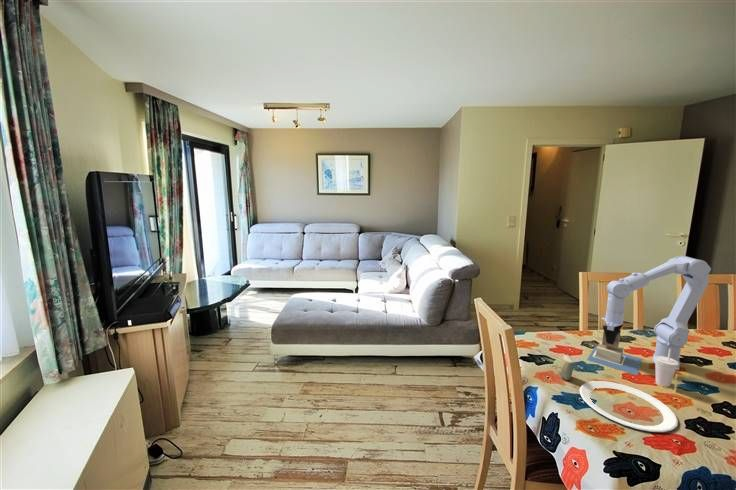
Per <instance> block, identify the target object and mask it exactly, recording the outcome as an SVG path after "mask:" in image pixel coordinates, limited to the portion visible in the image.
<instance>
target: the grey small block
mask: <svg viewBox="0 0 736 490" xmlns="http://www.w3.org/2000/svg"><path fill="white" fill-rule="evenodd" d="M574 367H575V362H574V361H573V359H572V357H571V356H570V355H568V354H564V355H562V358H561V359H560V361H559V364H558V367H557V373H558V378H560V379H561V380H563V381H565V382H570V380H571V378H572V375H573V372H574Z"/></svg>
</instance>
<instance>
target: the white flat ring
mask: <svg viewBox="0 0 736 490" xmlns="http://www.w3.org/2000/svg"><path fill="white" fill-rule="evenodd" d="M595 388H597V389H611V390H612V389H613V390H618V391H623V392H627V393H629V394H632V395H634V396H637V397H639V398H641V399H643V400H644V401H646V402H648V403H650V404H651V405H652V406H653V407H655V408H657V410H658V409H659V410H660V411H659V412H660V413H661V415H662V417H663V419H662V420H663V421H662V422H661V423H660V424H655V425H643V424H642V425H641V424H636V423H632V422H629V421H626V420H623V419H620V418H618V417H616V416H614V415H611V414H610V413H608V412H606V411H604V410H603V409H602V408H601V407H599V406H598V405H597V404H596V403H595V402H594V401H593V399H592V398H591V399H592V400H591V399H590V396H591V393H592V392H593V391H594V389H595ZM595 390H596V389H595ZM590 392H591V393H590ZM589 393H590V394H589ZM579 395H580V396H581V399H582V401H584V403H585V404H587V406H588V407H590V408H591V409H592V410H593V411H595V412H596V413H598V414H599V415H601V416H603V417H605V418H606V419H608V420H610V421H612V422H615V423H617V424H620V425H622V426H625V427H628V428H632V429H634V430H638V431H643V432H649V433H667V432H671V431H674V430H675V429H676V428H678V424H679V419H678V417H677V416H676V414H675V413H674V411H672V410H671V409H670V407H668V405H666V404H664V403H663V402H662V401H661V400H659V399H658V398H656V397H654V396H652V395H650V394H648V393H646V392H644V391H642V390H640V389H636V388H635V387H631V386H629V385H625V384H621V383H618V382H612V381H605V380H593V381H587V382H585V383H582V384H581V386H580V387H579ZM589 395H590V396H589ZM592 401H593V402H594V403H595V404H594V403H593V402H592Z"/></svg>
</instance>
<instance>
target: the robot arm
mask: <svg viewBox="0 0 736 490" xmlns="http://www.w3.org/2000/svg"><path fill="white" fill-rule="evenodd" d="M711 270H712V268H711V267H710V265H709V264H708V263H707V261H705V260H703V259H697V258H693V257H690V256H687V255H677V256H676V257H672V258H670V259H668V261H665V263H662V264H661V265H658V266H656V267H654V268H652V269H650V270H647V271H645V272H632V273H631V274H630V275H628V276H626V277H623V278H622V277H620V278H618V279H619V280H611V281H610V282H609V283H608V284H607V285H606V286H605V289H606V291H607V293H608V295H607V301H606V310H605V311H606V312H605V317H601V321H604V322H605V323H606V325H603V326H602V329H603V332H604V331H605V335H606V342H607V343H608V344H612V345H613V344H614V341H615V338H616V336H617V334H618V333H619V332H620V331H621V329H622V328H623V326H624V315H625V308H626V301H627V300H626V299H627V298H628V297H629V296H630V295H631V293H632V292H635V291H637V290H639V289H642V288H645V287H647V286H649V284H650V282H651V281H654V280H656V279H659V278H663V277H666V276H669V275H671V274H678V275H681V276H682V277H683V279H684V280H685V285H684V286H683V288H682V289H681V290H682V291H680V294H679V296H678V297H677V299H676V301H675V303H674V305H673V308H672V309H671V311H670V313H669V315H668V316H667V317H665V318H662V319H661V320H660V322H659V323H657V324H655V326H654V328H653V333H654V334H655V335H656V343H655V350H654V353H653V356H652V360H651V362H652V363H654V364H655V361H654V359H655V356H665V357H668V353H669V349H671V354H670V358H671V359H674V360H676V361H677V362H678V363H679V366H678V367H677V368H676V371H680V364H681V363H680V356H681V349H682V348H683V347H684V346H685V345H686V344H687V343H688V341H689V339H688V338H689V333H690V330H689V328H688V325H687V324H688V322H689V320H690V318H691V316H692V314H693V313H694V311H695V309H696V307H697V305H698V303H699V302H700V299H701V298H702V296H703V294H704V292H705V290H706V289H707V287H708V285H709V283H710V282H709V280H710V278H709V274H710V272H711Z"/></svg>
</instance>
